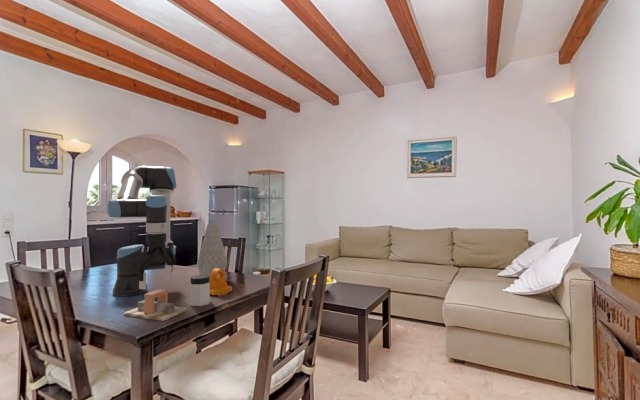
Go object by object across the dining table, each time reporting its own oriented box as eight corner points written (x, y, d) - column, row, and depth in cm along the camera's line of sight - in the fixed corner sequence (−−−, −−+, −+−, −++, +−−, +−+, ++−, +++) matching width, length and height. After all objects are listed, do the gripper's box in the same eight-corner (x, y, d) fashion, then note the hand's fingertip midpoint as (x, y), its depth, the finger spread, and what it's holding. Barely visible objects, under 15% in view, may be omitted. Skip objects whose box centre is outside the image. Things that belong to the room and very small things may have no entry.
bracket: (213, 296, 158) (213, 271, 158) (205, 294, 163) (205, 269, 163) (232, 292, 166) (232, 268, 166) (225, 289, 171) (225, 266, 171)
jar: (204, 299, 154) (204, 273, 154) (214, 302, 148) (214, 276, 148) (186, 303, 147) (186, 276, 147) (195, 307, 141) (195, 279, 142)
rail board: (123, 315, 132) (123, 305, 132) (149, 305, 144) (149, 296, 144) (163, 320, 126) (163, 310, 126) (187, 310, 138) (187, 300, 138)
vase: (222, 285, 179) (222, 224, 180) (192, 285, 180) (192, 224, 180) (231, 278, 196) (231, 222, 196) (203, 278, 196) (203, 222, 197)
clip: (144, 312, 132) (144, 294, 132) (159, 306, 140) (159, 289, 140) (152, 313, 131) (152, 294, 131) (167, 307, 138) (167, 289, 138)
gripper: (137, 237, 122) (137, 294, 123) (185, 230, 146) (185, 278, 146) (122, 236, 125) (122, 291, 125) (171, 229, 148) (171, 276, 149)
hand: (156, 284), depth 136 cm, fingers open, 13 cm apart
